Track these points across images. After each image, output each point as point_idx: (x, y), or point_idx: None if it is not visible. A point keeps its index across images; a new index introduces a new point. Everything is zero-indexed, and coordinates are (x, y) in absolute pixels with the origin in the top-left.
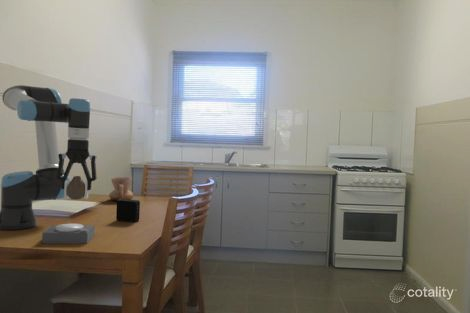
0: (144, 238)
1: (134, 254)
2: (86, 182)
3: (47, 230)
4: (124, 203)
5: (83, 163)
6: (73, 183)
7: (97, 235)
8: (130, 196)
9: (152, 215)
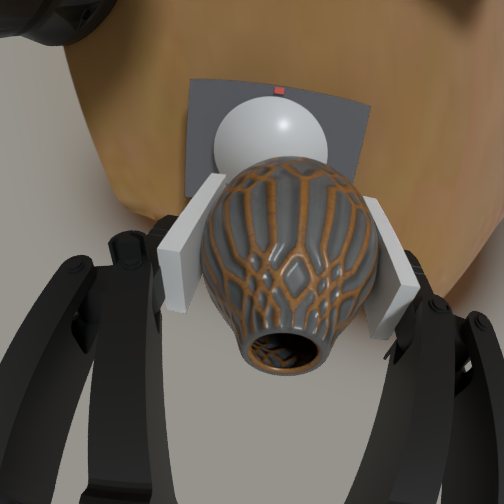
0: (491, 191)
1: None
2: (381, 338)
3: (191, 165)
4: None
5: None
6: (260, 338)
7: (373, 108)
8: None
9: None
